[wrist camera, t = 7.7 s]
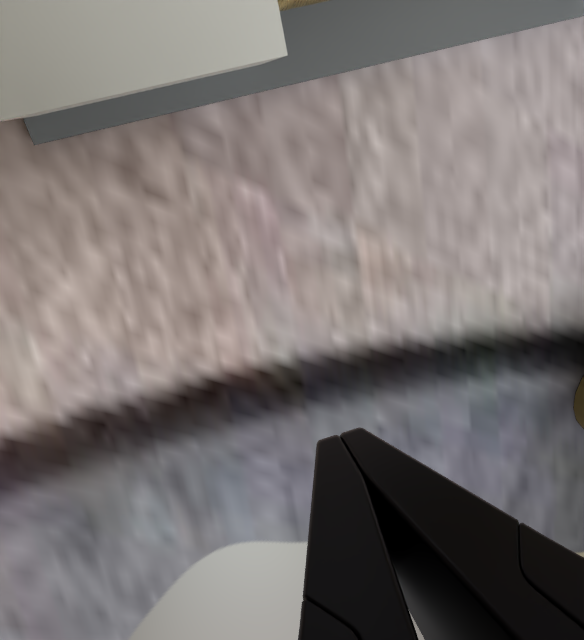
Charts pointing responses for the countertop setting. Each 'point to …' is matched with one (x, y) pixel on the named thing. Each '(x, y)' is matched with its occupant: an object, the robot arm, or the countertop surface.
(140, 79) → the sleeve
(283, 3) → the bolt
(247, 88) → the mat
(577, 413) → the cork
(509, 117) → the countertop surface
